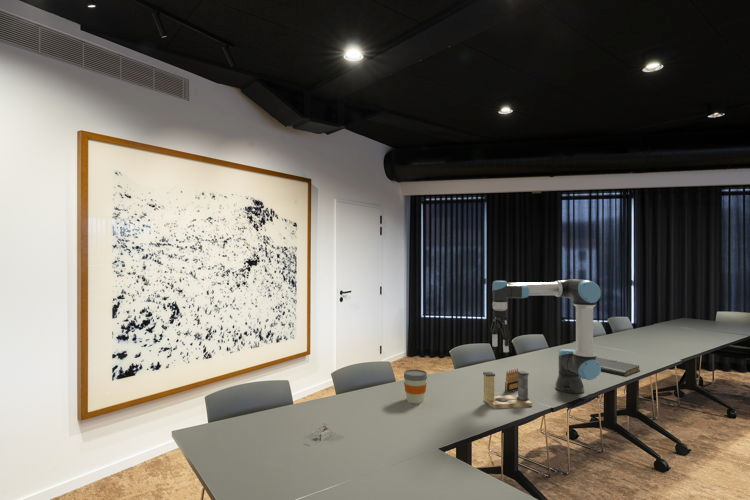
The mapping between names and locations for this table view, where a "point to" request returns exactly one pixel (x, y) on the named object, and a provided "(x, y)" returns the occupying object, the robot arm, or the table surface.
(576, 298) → the robot arm
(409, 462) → the table surface
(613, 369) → the grey hardcover book
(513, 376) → the ammunition clip
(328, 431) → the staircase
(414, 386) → the reusable coffee cup
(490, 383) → the brass leg
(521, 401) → the tan and grey stand
